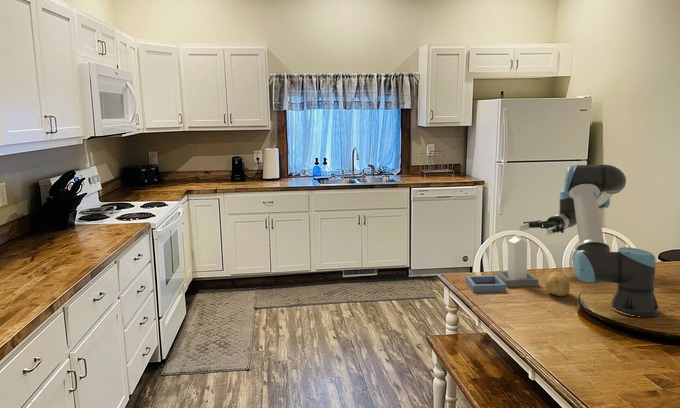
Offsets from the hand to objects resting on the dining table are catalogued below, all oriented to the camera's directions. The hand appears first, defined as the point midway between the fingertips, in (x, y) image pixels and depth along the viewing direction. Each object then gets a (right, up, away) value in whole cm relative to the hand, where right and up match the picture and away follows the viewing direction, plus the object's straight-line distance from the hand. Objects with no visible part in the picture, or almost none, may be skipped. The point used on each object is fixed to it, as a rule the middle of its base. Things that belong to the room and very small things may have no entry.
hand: (533, 229), depth 224 cm
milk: (-10, -24, -6) cm, 26 cm away
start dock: (-10, -23, -6) cm, 26 cm away
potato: (0, -26, -24) cm, 35 cm away
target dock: (-26, -25, -11) cm, 38 cm away
